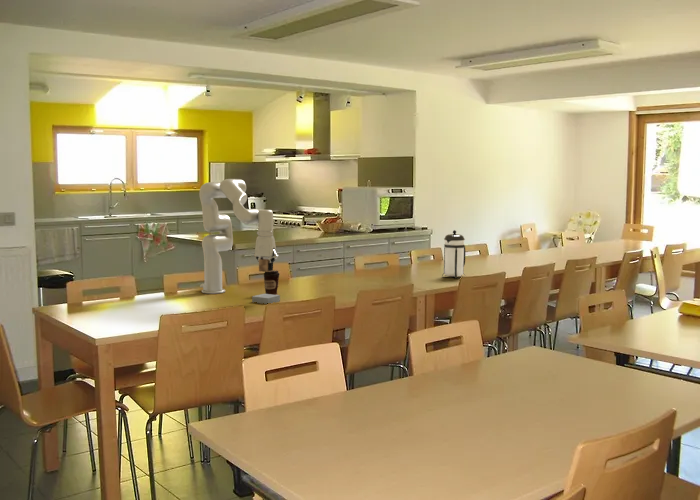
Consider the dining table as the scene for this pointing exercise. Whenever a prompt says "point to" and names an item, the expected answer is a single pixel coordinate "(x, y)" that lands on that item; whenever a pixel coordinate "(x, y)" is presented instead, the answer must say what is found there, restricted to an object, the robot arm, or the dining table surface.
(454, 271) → the coffee press
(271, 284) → the coffee cup
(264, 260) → the walnut block
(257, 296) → the plinth
